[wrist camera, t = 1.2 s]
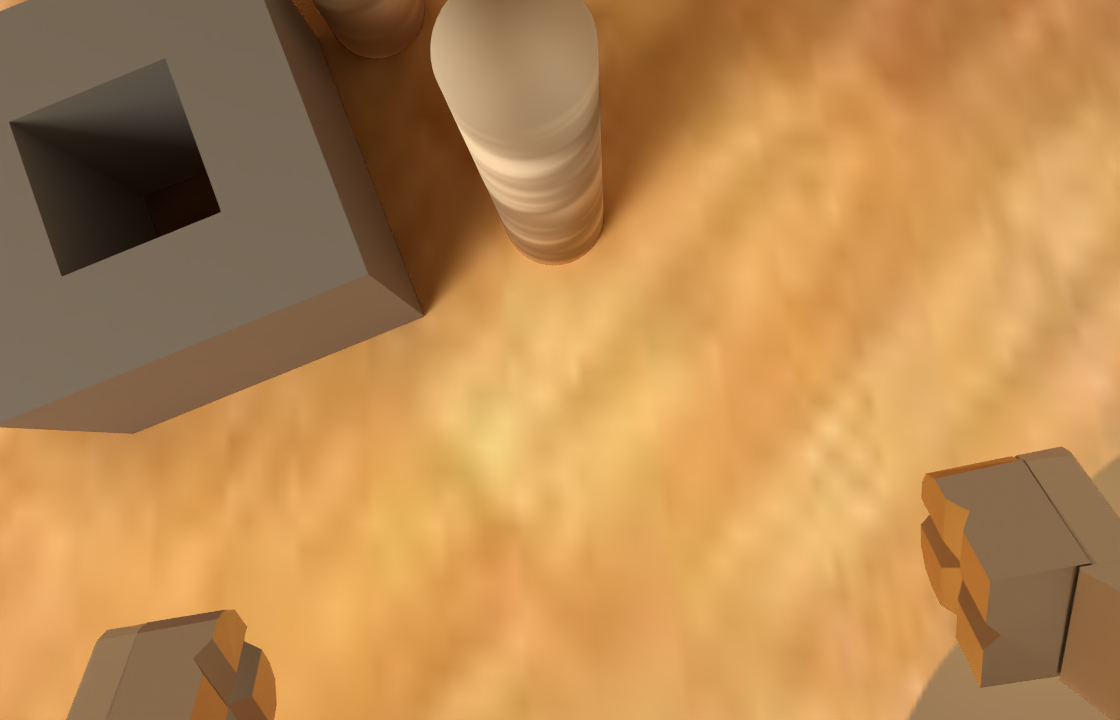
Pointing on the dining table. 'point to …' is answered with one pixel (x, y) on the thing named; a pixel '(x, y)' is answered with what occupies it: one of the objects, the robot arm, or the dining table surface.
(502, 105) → the tall pin
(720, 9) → the dining table surface
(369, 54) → the short pin
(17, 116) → the hole block
